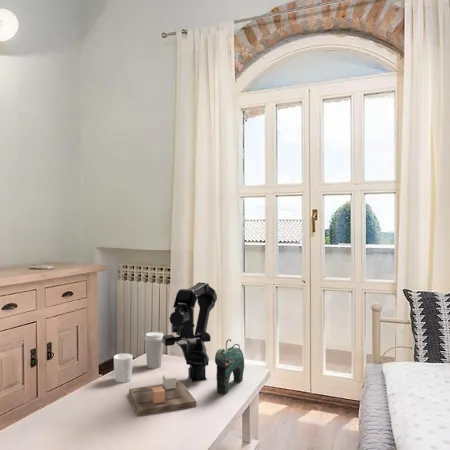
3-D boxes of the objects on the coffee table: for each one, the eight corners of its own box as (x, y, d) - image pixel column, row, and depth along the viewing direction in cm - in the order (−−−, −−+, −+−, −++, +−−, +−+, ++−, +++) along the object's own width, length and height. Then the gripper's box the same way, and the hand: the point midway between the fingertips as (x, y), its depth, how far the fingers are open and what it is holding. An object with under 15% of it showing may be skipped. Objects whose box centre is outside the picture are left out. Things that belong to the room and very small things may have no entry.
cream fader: (172, 383, 167) (172, 373, 167) (175, 388, 163) (175, 377, 163) (162, 384, 166) (162, 374, 166) (165, 389, 161) (165, 379, 161)
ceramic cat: (224, 397, 160) (225, 345, 160) (210, 393, 163) (210, 342, 163) (247, 380, 178) (247, 333, 178) (233, 377, 181) (233, 331, 181)
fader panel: (181, 386, 170) (181, 381, 170) (196, 406, 152) (196, 400, 152) (129, 393, 162) (129, 388, 162) (138, 415, 144) (138, 409, 144)
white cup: (122, 384, 172) (123, 360, 172) (109, 380, 176) (109, 357, 176) (136, 378, 179) (136, 355, 179) (123, 375, 183) (123, 352, 183)
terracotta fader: (161, 396, 155) (161, 385, 155) (164, 402, 150) (165, 390, 150) (151, 398, 153) (151, 387, 153) (153, 403, 148) (154, 392, 148)
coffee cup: (140, 369, 191) (140, 336, 190) (148, 362, 200) (148, 331, 200) (160, 370, 189) (161, 337, 189) (167, 363, 198) (167, 331, 198)
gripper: (202, 315, 178) (201, 351, 178) (159, 318, 171) (158, 356, 171) (211, 320, 168) (210, 359, 168) (165, 324, 161) (165, 365, 161)
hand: (186, 359), depth 167 cm, fingers closed
